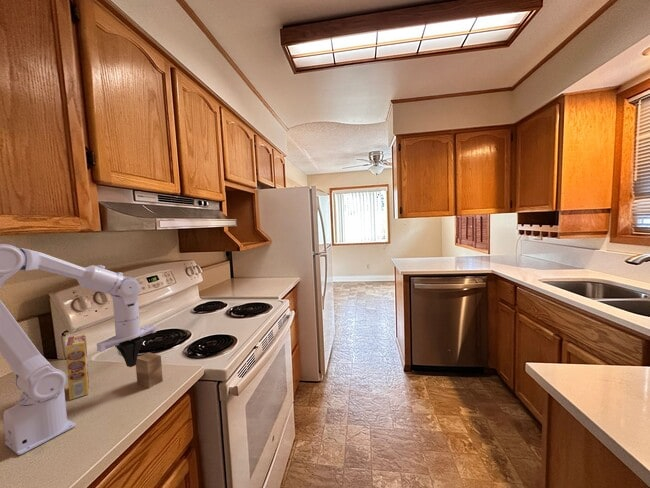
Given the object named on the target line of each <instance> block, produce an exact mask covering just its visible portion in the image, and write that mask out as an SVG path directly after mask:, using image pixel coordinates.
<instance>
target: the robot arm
mask: <svg viewBox="0 0 650 488" xmlns="http://www.w3.org/2000/svg"><path fill="white" fill-rule="evenodd" d="M33 270H34V271H35V270H40V271H44V272H48V273H52V274H56V275H60V276H64V277H66V278H67V277H68V278H71V279H75V280H76V281H77V283H78V284H79V287H82V288H85V289H90V290H92V291H97V292H100V293H105V294H108V295H110V296H111V297H112V306H113V307H112V309H113V317H114V319H113V320H114V329H115V335H114V336H111V337H109V338H107V339H105V340H103V341H100V342H97V343H96V350H97V352H100V353H102V352H105V351H106V350H107V349H110V348H114V347H115V348H116V349H117V350H118V351H119V353H120V354H121V356H122V358H123V360H124V362H125V365H126V367H128V368H132V367H134V366H135V367H136V360H137V357H138V356H139V353H140V349H141V348H142V345H143V344H144V338H142V337H144V336H147V335H150V334H155V333H157V326H156V325H152V324H151V325H148V326H143V327H141V322H140V307H139V299H138V296H139V294H140V293H141V290H142V284H141V283H140V281H138V279H137V278H135V277H133V276H124V273H123V272H119V271H117V272H115V271H112V270H109V269H106V266H104V265H102V264H97V265H94V264H92V265H88V266H86V267H84V266H80V265H77V264H75V263H72V262H69V261H67V260H64V259H62V258H61V259H60V258H58V257H55V256H52V255H50V254H46V253H44V252H40V251H36V250H32V249H28V248H23V247H22V248H21V247H16V246H15V245H11V244H6V243H0V289H2V287H3V285H4V284H5V283H6V281H7V280H8V279H9V278H11V277H12V276H13V275H15V274H16V273H17V272H19V271H25V272H26V271H33ZM0 355H1V357H2V358H3V359H4V360H5V361H6V364H8V366H9V367H10V370H11V371H12V372H13V374H14V385H15V386H16V388H17V389H19V390H21V391H22V393H21V395H20V396H19V399H18V402H17V403H16V404H15V405H13V406H12V407H9V408H7V409H5V410H4V412H3V426H4V428H3V429H4V437H5V442H4V444H5V446H7V447H8V448H9V449H11V451H13V452H14V453H15V454H16V455H17V456H21V455H23V454H25V453H28V452H29V451H31V450H33V449H35V448H36V447H39V446H40V445H42V444H44V443H47V442H48V441H50V440H52V439H54V438H55V437H57V436H59V435H61V434H63V433H65V432H67V431H69V430H71V429H72V428H74V427H76V423H75V422H74V421H71V420H70V419H69V418H68V416H67V415H68V414H67V413H68V412H67V405H66V394H65V386H66V384H67V382H68V376H67V374H66V373H65V372H64V371H62V370H61V369H57V368H56V367H54V366H53V365H52V364H51V363H50V362H49V361H48V360H47V358H45V356H43V354H41V352H40V351H39V350H38V348H37V347H36V345H34V343H33V342H32V340H31V339H30V337H29V336H28V335H27V333H26V332H25V331H24V330H23V328H22V327H21V326H20V324H19V323H18V321H17V320H16V319H15V317H14V316H13V314H11V312H10V311H9V309H8V308H7V307H6V305H5V304H4V303H3V301H2V300H1V299H0Z"/></svg>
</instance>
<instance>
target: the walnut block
mask: <svg viewBox="0 0 650 488" xmlns="http://www.w3.org/2000/svg"><path fill="white" fill-rule="evenodd" d="M135 374H136V383H137V384H136V385H140V386H143V387H145V388H148V389H151V388H152V387H155V386H157V385H159V384H160V383H162V382H163V381H164V380H163V367H162V355H160V354H156V353H152V352H146V353H144V354H141V355H138V356H137V360H136V365H135ZM154 385H155V386H154Z"/></svg>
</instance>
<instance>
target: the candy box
mask: <svg viewBox="0 0 650 488" xmlns="http://www.w3.org/2000/svg"><path fill="white" fill-rule="evenodd" d="M65 347H66V348H65V349H66V366H67V382H68V397H69V399H68V400H74V399H78V398H80V397H85V396H88V395H89V383H90V379H89V378H90V377H89V363H88V362H89V361H88V349H87V348H88V347H87V335H86V333H85V334H77V335H73V336H70V337H68V338H67V342H66V346H65Z"/></svg>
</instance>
